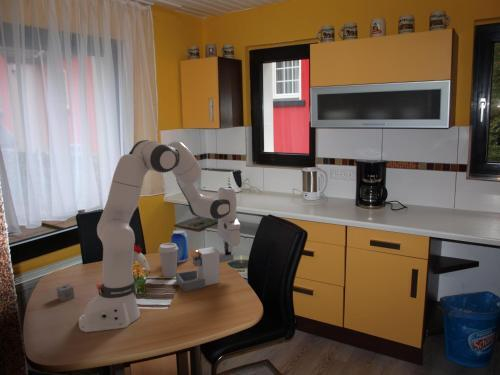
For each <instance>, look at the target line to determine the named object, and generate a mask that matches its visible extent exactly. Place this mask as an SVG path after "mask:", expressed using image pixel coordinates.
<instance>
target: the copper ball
mask: <svg viewBox="0 0 500 375" xmlns="http://www.w3.org/2000/svg"><path fill="white" fill-rule="evenodd" d="M190 256H191V258H192V259H193V258H194V259H197V258H199V256H200V253H199V251H197V249H194V250H192V251H191V253H190Z"/></svg>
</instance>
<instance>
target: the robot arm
mask: <svg viewBox="0 0 500 375" xmlns="http://www.w3.org/2000/svg"><path fill="white" fill-rule="evenodd" d="M201 168H202V166H201V165H200V163H199V161H198V160H197V158H196V157H195V156H194V154H193V152H192V151H191V150H190V149H189V148H188V147H187V145H185V144H184V143H182V142H181V141H178V140H175V141H172V142H170V143H169V144H164V143H161V142H159V141H153V140H147V139H143V140H140V141H137V142H136V143H134V145H133V146H132V148H131V150H130V151H129V153H126V154H123V155H122V156H121V157H120V158H119V161H118V162H117V165H116V167H115V169H114V172H113V176H112V180H111V183H110V188H109V192H108V196H107V201H106V204H105V206H104V208H103V211H102V213H101V215H100V219H99V221H98V223H97V226H96V233H97V237H98V238H99V240H100V241H101V243H102V248H103V249H102V250H103V251H102V264H101V265H102V266H101V267H102V268H101V269H102V279H103V283H102V282H98V283H96V285H95V286H96V289H97V290H98V294H97V295H96V296H94V298H92V299H91V300H89V302H88V303H87V304H86V305H85V308H84V313H83V314H81V315H80V317H79V319H78V327H79V330H80V331H81V332H84V333H91V332H100V331H107V330H115V329H125V328H127V327H128V326H130V324H132V323H133V322H135V321H137V320H138V319H139V318H140V316H141V312H140V309H139V306H138V303H137V298H136V293H137V290H136V288H137V287H136V280H135V279H134V277H133V251H134V245H135V243H136V237H135V232H134V230H133V228H132V227H131V226H130V222H131V220H132V218H133V215H134V212H135V211H136V210H137V208H138V205H139V201H140V197H141V193H142V189H143V184H144V179H145V176H146V174H147V173H148V172H149V171H153V172H157V173H168V172H171V173H172V174H173V175H174V177H175V178H176V183H177V186H178V187H179V188H180V191H181V192H182V194H183V196H184V198H185V200H186V202H187V204H188V208H189V211H190V213H191V214H192V216H195V217H202V218H207V219H211V220H217V236H218V237H219V238H220V239H221V240H222V241H223V246H224V247H223V248H224V249H225V242H227V243H228V251H229V252H232V253H233V248H234V247H238V246H239V245H240V242H241V239H240V238H241V236H240V235H241V233H240V232H241V231H240V229H241V223H240V222H239V220H238V219H239V218H238V214H237V206H238V204H237V194H236V191H235V189H234V188H231V187H219V188H218V190H217V192H216V193H215V194H214V195H212V196H208V195H203V194H201V193H200V192H199V191H198V189H197V187H196V186H195V183H196V182H197V181H198V180H199V179H200V178H201V173H202V169H201Z"/></svg>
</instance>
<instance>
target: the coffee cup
mask: <svg viewBox="0 0 500 375" xmlns="http://www.w3.org/2000/svg"><path fill="white" fill-rule="evenodd" d="M177 250H178V247H177V245H176V244H175V243H172V242H164V243H161V244H160V245H159V247H158V250H157V251H158V252H159V257H160V264H161V271H162V277H164V278H173V277H176V273H177V268H178V267H177V266H178V264H177V263H178V262H177Z"/></svg>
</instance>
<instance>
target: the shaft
mask: <svg viewBox="0 0 500 375" xmlns="http://www.w3.org/2000/svg"><path fill="white" fill-rule="evenodd" d="M219 261H220V263H225V262H230V261H234V253H233V251H232V252H229V251H228V243H227V242H225V248H224V252H221V253H220V252H219ZM192 264H193V266H194V267H198V266H202V259H201V258H200V257H199V258H197V259H194V258H192Z"/></svg>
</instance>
